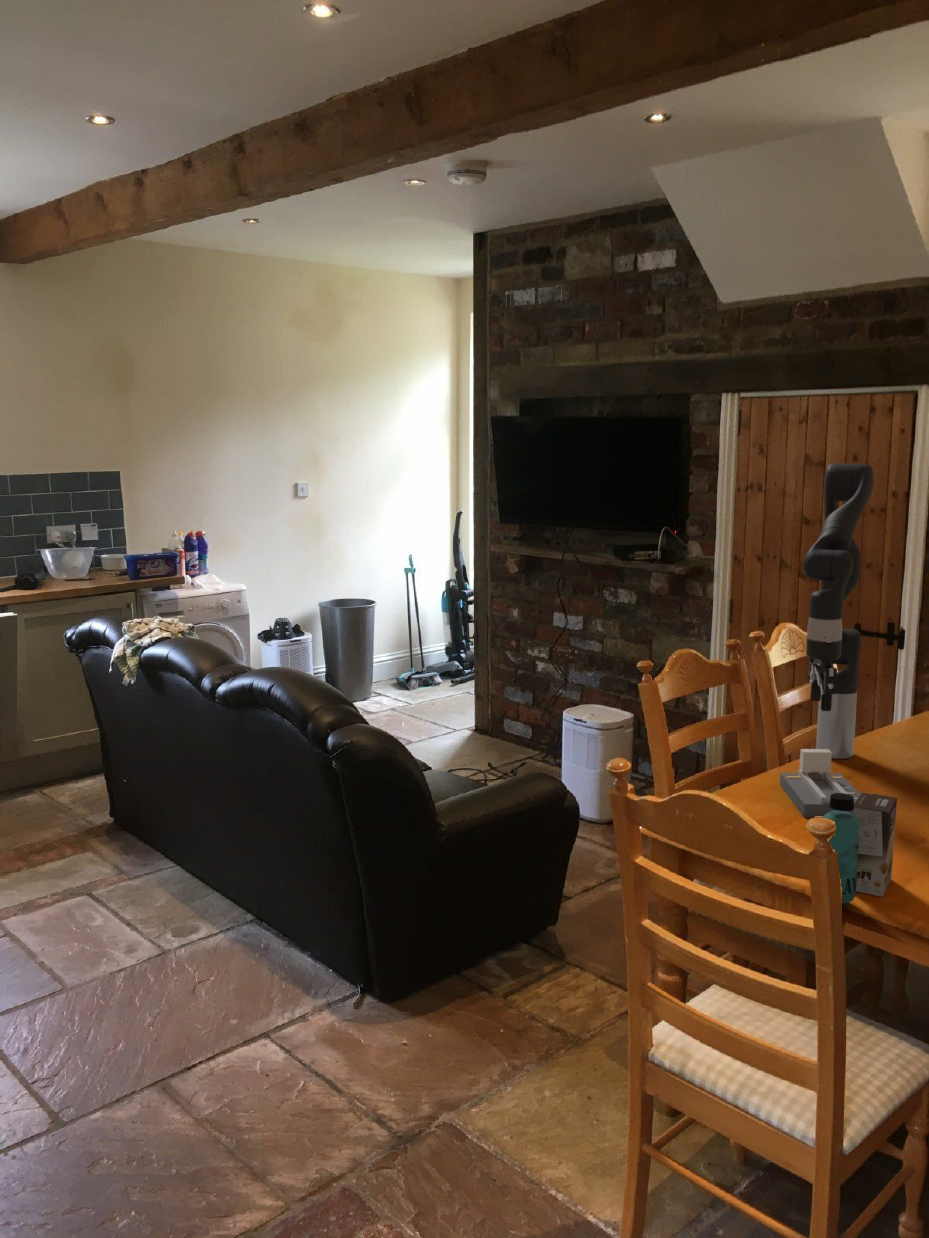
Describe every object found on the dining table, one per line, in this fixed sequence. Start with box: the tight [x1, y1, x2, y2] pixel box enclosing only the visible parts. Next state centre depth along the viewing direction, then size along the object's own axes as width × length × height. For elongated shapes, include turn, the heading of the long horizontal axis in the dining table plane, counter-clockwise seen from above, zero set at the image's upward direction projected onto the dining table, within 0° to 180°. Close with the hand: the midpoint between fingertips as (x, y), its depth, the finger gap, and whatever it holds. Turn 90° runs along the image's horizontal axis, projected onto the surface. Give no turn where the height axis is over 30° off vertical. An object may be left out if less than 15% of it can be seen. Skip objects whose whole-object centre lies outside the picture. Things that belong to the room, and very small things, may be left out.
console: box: [779, 768, 862, 818], centre depth 226 cm, size 21×14×4 cm, turn 176°
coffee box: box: [853, 792, 898, 897], centre depth 182 cm, size 9×6×16 cm
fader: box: [799, 748, 832, 780], centre depth 233 cm, size 3×6×6 cm, turn 87°
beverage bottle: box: [821, 793, 860, 904], centre depth 175 cm, size 6×7×20 cm
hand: (820, 705), depth 230 cm, fingers open, 8 cm apart
